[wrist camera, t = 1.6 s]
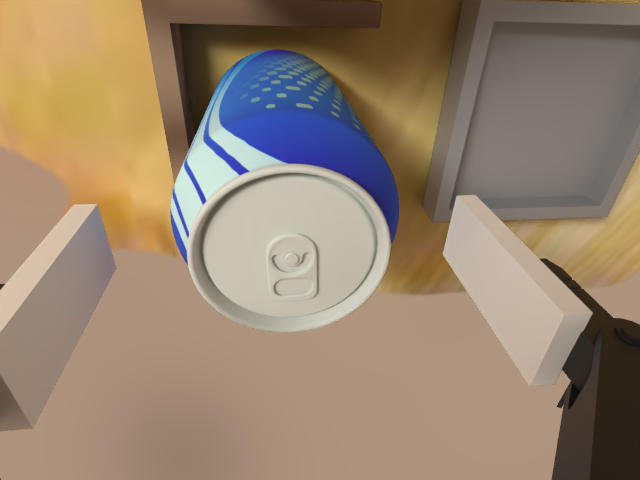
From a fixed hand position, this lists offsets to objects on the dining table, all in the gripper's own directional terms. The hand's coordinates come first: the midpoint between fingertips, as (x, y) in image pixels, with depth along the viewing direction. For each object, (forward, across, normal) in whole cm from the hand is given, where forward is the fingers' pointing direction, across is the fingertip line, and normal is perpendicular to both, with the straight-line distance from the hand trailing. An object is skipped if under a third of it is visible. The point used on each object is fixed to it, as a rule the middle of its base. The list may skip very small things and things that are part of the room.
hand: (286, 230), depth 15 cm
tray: (+14, +18, 0) cm, 23 cm away
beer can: (+14, 0, 0) cm, 14 cm away
